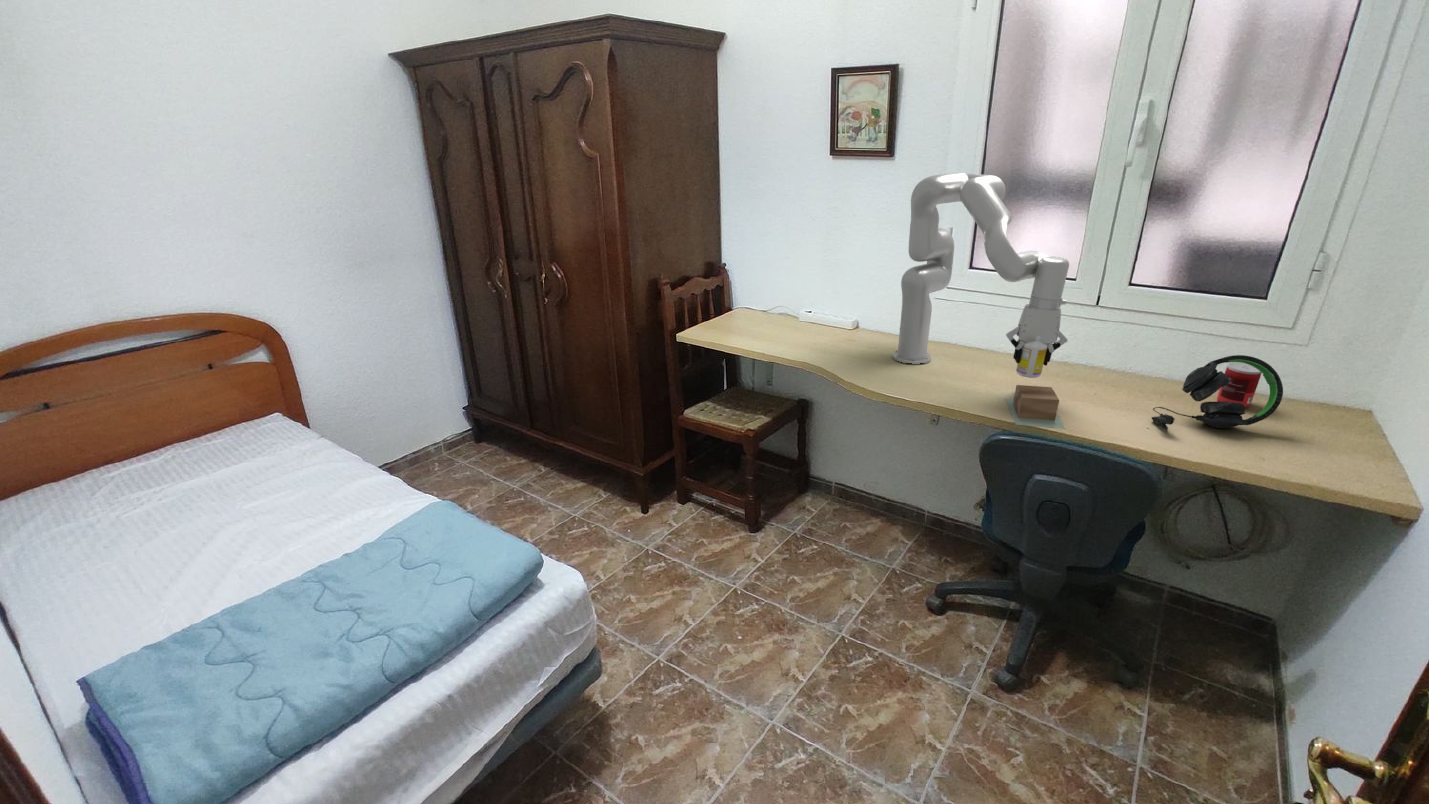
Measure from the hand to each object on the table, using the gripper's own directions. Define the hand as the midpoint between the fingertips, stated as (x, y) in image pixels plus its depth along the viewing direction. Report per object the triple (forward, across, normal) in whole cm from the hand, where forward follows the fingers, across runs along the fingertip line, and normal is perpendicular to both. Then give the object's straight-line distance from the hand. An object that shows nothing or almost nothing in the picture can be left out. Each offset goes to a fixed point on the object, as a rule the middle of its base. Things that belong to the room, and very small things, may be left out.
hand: (1030, 362), depth 184 cm
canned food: (+9, -55, -4) cm, 56 cm away
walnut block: (+9, 0, +14) cm, 17 cm away
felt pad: (+10, 0, +14) cm, 17 cm away
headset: (+9, -42, +14) cm, 45 cm away
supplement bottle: (+4, 0, 0) cm, 4 cm away
